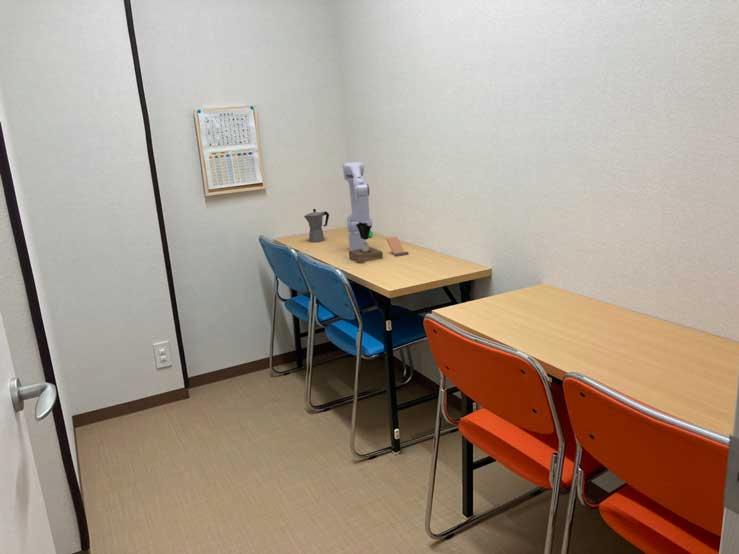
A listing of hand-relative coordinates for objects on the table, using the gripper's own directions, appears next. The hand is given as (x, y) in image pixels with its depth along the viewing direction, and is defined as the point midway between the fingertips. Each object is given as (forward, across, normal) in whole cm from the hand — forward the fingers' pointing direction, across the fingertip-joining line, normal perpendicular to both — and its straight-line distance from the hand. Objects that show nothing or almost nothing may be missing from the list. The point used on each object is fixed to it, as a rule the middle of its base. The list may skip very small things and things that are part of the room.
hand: (364, 238), depth 276 cm
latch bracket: (+10, -6, -16) cm, 20 cm away
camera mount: (+10, +49, -20) cm, 54 cm away
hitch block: (+10, 0, 0) cm, 10 cm away
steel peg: (+10, 0, 0) cm, 10 cm away
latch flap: (+6, 0, -16) cm, 17 cm away
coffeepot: (+10, +58, +2) cm, 59 cm away
